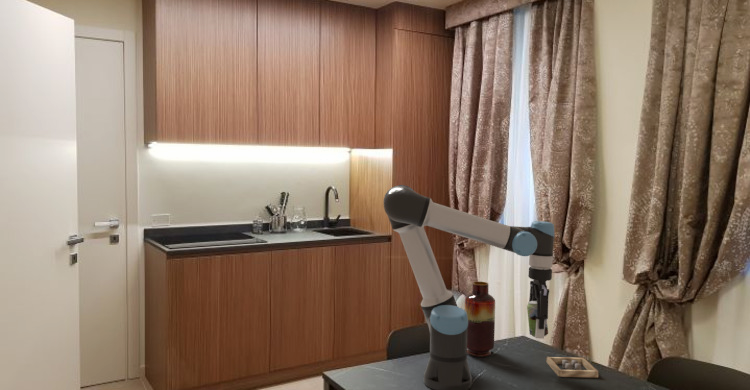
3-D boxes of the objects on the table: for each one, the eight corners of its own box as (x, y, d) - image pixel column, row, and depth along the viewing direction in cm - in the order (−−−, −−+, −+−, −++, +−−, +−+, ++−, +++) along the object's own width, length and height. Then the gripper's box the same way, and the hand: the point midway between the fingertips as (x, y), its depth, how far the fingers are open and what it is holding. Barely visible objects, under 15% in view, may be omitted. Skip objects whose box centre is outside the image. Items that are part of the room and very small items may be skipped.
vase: (498, 351, 200) (500, 282, 199) (487, 360, 191) (489, 287, 189) (470, 346, 206) (472, 278, 205) (458, 354, 196) (460, 283, 195)
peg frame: (558, 376, 176) (558, 369, 176) (546, 362, 189) (546, 355, 189) (598, 377, 176) (598, 370, 176) (583, 363, 189) (583, 356, 189)
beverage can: (548, 340, 178) (551, 304, 177) (526, 337, 179) (528, 302, 178) (546, 334, 184) (548, 300, 183) (524, 332, 185) (526, 298, 185)
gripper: (561, 273, 171) (556, 344, 172) (543, 262, 190) (539, 326, 191) (537, 272, 171) (533, 343, 172) (521, 261, 190) (518, 325, 191)
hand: (536, 334), depth 181 cm, fingers closed on beverage can, 6 cm apart
